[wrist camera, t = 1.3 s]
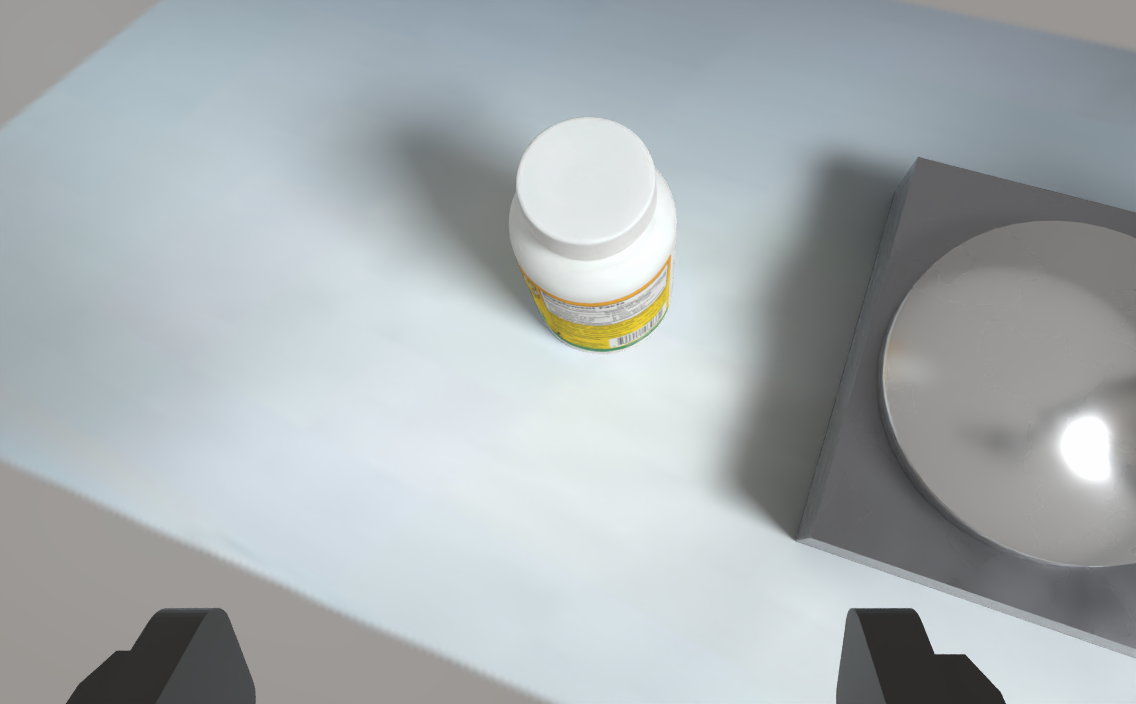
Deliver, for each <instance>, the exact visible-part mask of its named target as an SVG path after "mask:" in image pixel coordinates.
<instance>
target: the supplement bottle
mask: <svg viewBox="0 0 1136 704" xmlns="http://www.w3.org/2000/svg"><path fill="white" fill-rule="evenodd" d="M515 185H516V192H515V195H514V197H513V200H512V204H511V207H510V212H509V236H510V241H511V245H512V248H513V251H514V255H515V257H516V259H517V262H518V264H519V267H520V269H521V272H522V274H523V276H524V278H525V281H526V283H527V285H528V287H529V290H530V292H531V294H532V296H533V299H534V301H535V303H536V306H537V308H538V310H539V312H540V314H541V316H542V317H543V319H544V321H545V323H546V324H547V326H548V327H549V329H550V330H551V332H552V333H553V334H554V335H555V336H556V337H557V338H558V339H559V340H561V341H562V342H564V343H565V344H567V345H568V346H570V347H572V348H574V349H577V350H580V351H583V352H587V353H592V354H613V353H618V352H622V351H625V350H628V349H630V348H633V347H635V346H637V345H638V344H640V343H642V342H643V341H645V340H646V339H647V338H649V337H650V336H651V335H652V334H653V333H654V332H655V331H656V330H657V328H658V327H659V326H660V324H661V323H662V321H663V320H664V318H665V316H666V314H667V312H668V309H669V306H670V303H671V298H672V288H673V272H674V256H675V243H676V233H677V214H676V207H675V203H674V199H673V196H672V193H671V191H670V188H669V186H668V184H667V183H666V181H665V179H664V178H663V176H662V175H661V174H660V172H659V171H658V170H657V169H656V168H655V167H654V163H653V160H652V158H651V155H650V153H649V151H648V149H647V148H646V146H645V145H644V143H643V142H642V141H641V140H640V138H639V137H638V136H637V135H636V134H635V133H633V132H632V131H631V130H629V129H628V128H626V127H624V126H623V125H621V124H619V123H616V122H614V121H611V120H608V119H604V118H598V117H579V118H573V119H568V120H565V121H562V122H559V123H557V124H554V125H553V126H551V127H549V128H547V129H546V130H544V131H543V132H542V133H541V134H539V135H538V136H537V137H536V138H535V139H534V140H533V141H532V142H531V143H530V145H529V146H528V148H527V149H526V150H525V152H524V154H523V156H522V158H521V160H520V163H519V166H518V169H517V175H516V184H515Z"/></svg>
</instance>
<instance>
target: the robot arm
mask: <svg viewBox="0 0 1136 704" xmlns="http://www.w3.org/2000/svg"><path fill="white" fill-rule="evenodd" d="M255 699H256V696H255V687H254V683H253V680H252V677H251V674H250V672H249V669H248V666H247V664H246V661H245V659H244V656H243V653H242V651H241V648H240V645H239V643H238V640H237V638H236V635H235V633H234V630H233V627H232V625H231V622H230V619H229V617H228V615H227V613H226V612H225V611H224V610H222V609H220V608H165V609H162V610H160V611H158V612H157V613H156V614H154V615H153V617H152V618H151V619H150V621H149V622H148V624H147V625H146V627H145V628H144V630H143V631H142V633H141V635H140V636H139V638H138V639H137V641H136V643H135V644H134V646H133V647H132V649H131V650H130V651H116V652H115V653H114V654H112V655H111V656H110V657H109V658H108V659H107V660H106V661H105V662H103V664H101V665H100V666H99V667H98V668H97V669H96V670H95V671H93V672H92V673H91V674H90V675H89V676H88V677H87V678H86V679H84V681H82V682H81V683H80V684H79V685H78V686H77V688H76V689H75V691H74V692H73V694H72V695H71V697H70V698H69V700H68V701H67V703H66V704H255V702H256V700H255ZM836 704H1006V703H1005V701H1004V699H1003V696H1002V694H1001V692H1000V691H999V690H998V689H997V688H996V687H995V686H994V685H993V684H992V682H991V681H990V680H989V679H988V678H987V677H986V676H985V675H984V674H983V673H982V672H981V671H980V670H979V669H978V668H977V667H976V665H975V664H974V663H973V662H972V661H971V660H970V659H969V658H968V657H967V656H966V655H965V654H934V651H933V649H932V646H931V644H930V641H929V639H928V636H927V634H926V631H925V629H924V626H923V624H922V621H921V619H920V617H919V615H918V614H917V612H916V611H915V610H914V609H911V608H851V609H850V610H849V611H848V614H847V618H846V625H845V632H844V639H843V646H842V653H841V661H840V668H839V675H838V682H837V691H836Z"/></svg>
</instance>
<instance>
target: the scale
mask: <svg viewBox="0 0 1136 704" xmlns="http://www.w3.org/2000/svg"><path fill="white" fill-rule="evenodd" d="M796 541H797V542H800V543H802V544H805V545H808V546H811V547H814V548H817V549H820V550H823V551H826V552H829V553H831V554H834V555H837V556H840V557H843V558H846V559H849V560H852V561H855V562H858V563H861V564H863V565H866V566H869V567H872V568H875V569H878V570H881V571H884V572H887V573H890V574H893V575H895V576H898V577H901V578H904V579H907V580H910V581H913V582H916V583H919V584H922V585H924V586H927V587H930V588H933V589H936V590H939V591H942V592H945V593H948V594H951V595H954V596H956V597H959V598H962V599H965V600H968V601H971V602H974V603H977V604H980V605H983V606H986V607H988V608H991V609H994V610H997V611H1000V612H1003V613H1006V614H1009V615H1012V616H1015V617H1017V618H1020V619H1023V620H1026V621H1029V622H1032V623H1035V624H1038V625H1041V626H1044V627H1047V628H1049V629H1052V630H1055V631H1058V632H1061V633H1064V634H1067V635H1070V636H1073V637H1076V638H1079V639H1081V640H1084V641H1087V642H1090V643H1093V644H1096V645H1099V646H1102V647H1105V648H1108V649H1111V650H1113V651H1116V652H1119V653H1122V654H1125V655H1128V656H1131V657H1134V658H1136V213H1135V212H1131V211H1127V210H1123V209H1119V208H1115V207H1111V206H1107V205H1103V204H1100V203H1096V202H1092V201H1088V200H1084V199H1080V198H1076V197H1072V196H1068V195H1064V194H1060V193H1057V192H1053V191H1049V190H1045V189H1041V188H1037V187H1033V186H1029V185H1025V184H1021V183H1017V182H1013V181H1010V180H1006V179H1002V178H998V177H994V176H990V175H986V174H982V173H978V172H974V171H970V170H966V169H963V168H959V167H955V166H951V165H947V164H943V163H939V162H935V161H931V160H927V159H923V158H920V157H918V158H917V159H916V161H915V162H914V164H913V166H912V167H911V169H910V170H909V172H908V173H907V175H906V177H905V178H904V180H903V181H902V183H901V184H900V186H899V187H898V189H897V191H896V192H895V194H894V197H893V201H892V204H891V208H890V211H889V215H888V218H887V222H886V225H885V229H884V232H883V236H882V239H881V243H880V246H879V250H878V253H877V257H876V260H875V264H874V267H873V271H872V274H871V278H870V281H869V285H868V288H867V292H866V295H865V299H864V302H863V306H862V309H861V313H860V316H859V320H858V323H857V327H856V330H855V334H854V337H853V341H852V344H851V348H850V351H849V355H848V358H847V362H846V366H845V369H844V373H843V376H842V380H841V383H840V387H839V390H838V394H837V397H836V401H835V404H834V408H833V411H832V415H831V418H830V422H829V425H828V429H827V432H826V436H825V439H824V443H823V446H822V450H821V453H820V457H819V460H818V464H817V467H816V471H815V474H814V478H813V481H812V485H811V488H810V492H809V495H808V499H807V502H806V506H805V509H804V513H803V516H802V520H801V523H800V527H799V530H798V534H797V537H796Z"/></svg>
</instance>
